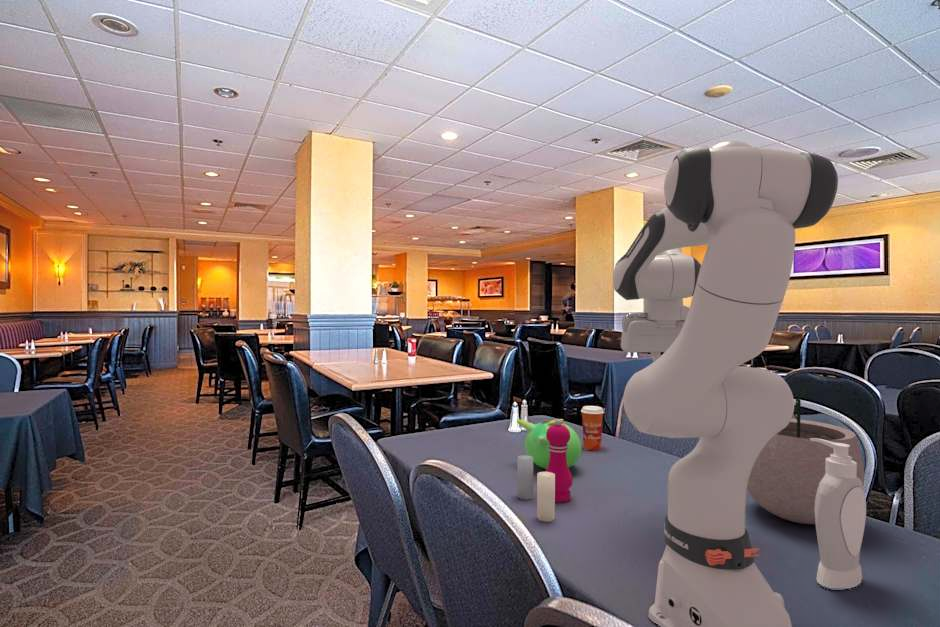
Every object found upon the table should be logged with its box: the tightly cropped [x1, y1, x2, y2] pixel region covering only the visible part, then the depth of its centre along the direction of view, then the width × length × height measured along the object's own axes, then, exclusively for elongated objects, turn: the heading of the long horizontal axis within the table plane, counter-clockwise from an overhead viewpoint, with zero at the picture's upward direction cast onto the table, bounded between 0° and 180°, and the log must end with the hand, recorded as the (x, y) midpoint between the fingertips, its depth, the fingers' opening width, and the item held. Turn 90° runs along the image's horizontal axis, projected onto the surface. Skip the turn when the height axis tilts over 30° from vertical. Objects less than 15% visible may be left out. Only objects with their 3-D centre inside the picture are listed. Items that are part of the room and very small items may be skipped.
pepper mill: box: [544, 418, 573, 503], centre depth 125 cm, size 7×7×20 cm
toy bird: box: [516, 418, 582, 470], centre depth 148 cm, size 18×17×15 cm
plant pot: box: [747, 387, 865, 525], centre depth 113 cm, size 24×24×30 cm
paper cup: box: [580, 405, 605, 451], centre depth 168 cm, size 8×8×14 cm
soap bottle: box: [810, 438, 867, 588], centre depth 88 cm, size 13×8×24 cm, turn 115°
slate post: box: [516, 454, 534, 501], centre depth 126 cm, size 4×4×10 cm
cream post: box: [536, 471, 556, 523], centre depth 113 cm, size 4×4×10 cm
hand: (662, 370), depth 118 cm, fingers closed
